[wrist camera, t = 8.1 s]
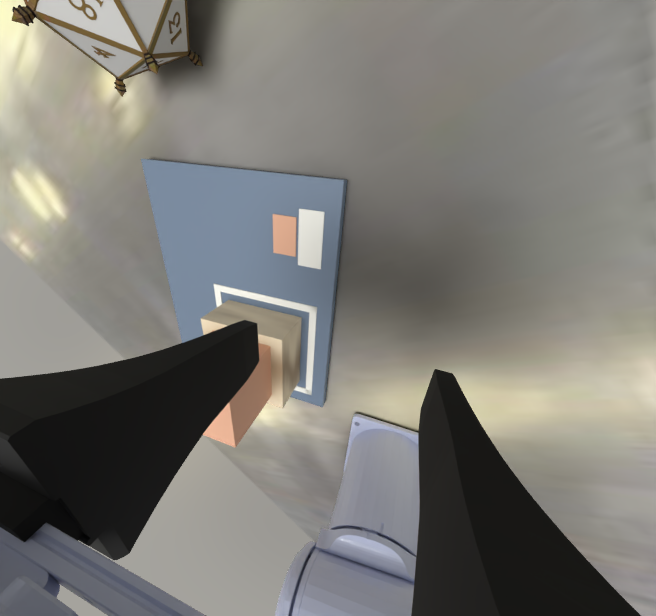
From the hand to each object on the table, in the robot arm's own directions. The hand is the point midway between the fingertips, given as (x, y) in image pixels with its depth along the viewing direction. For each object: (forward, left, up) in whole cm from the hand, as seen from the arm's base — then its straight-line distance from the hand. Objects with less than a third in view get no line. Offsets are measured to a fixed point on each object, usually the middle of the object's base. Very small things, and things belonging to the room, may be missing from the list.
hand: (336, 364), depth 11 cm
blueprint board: (-4, +11, -10) cm, 16 cm away
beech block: (-8, +9, -10) cm, 15 cm away
